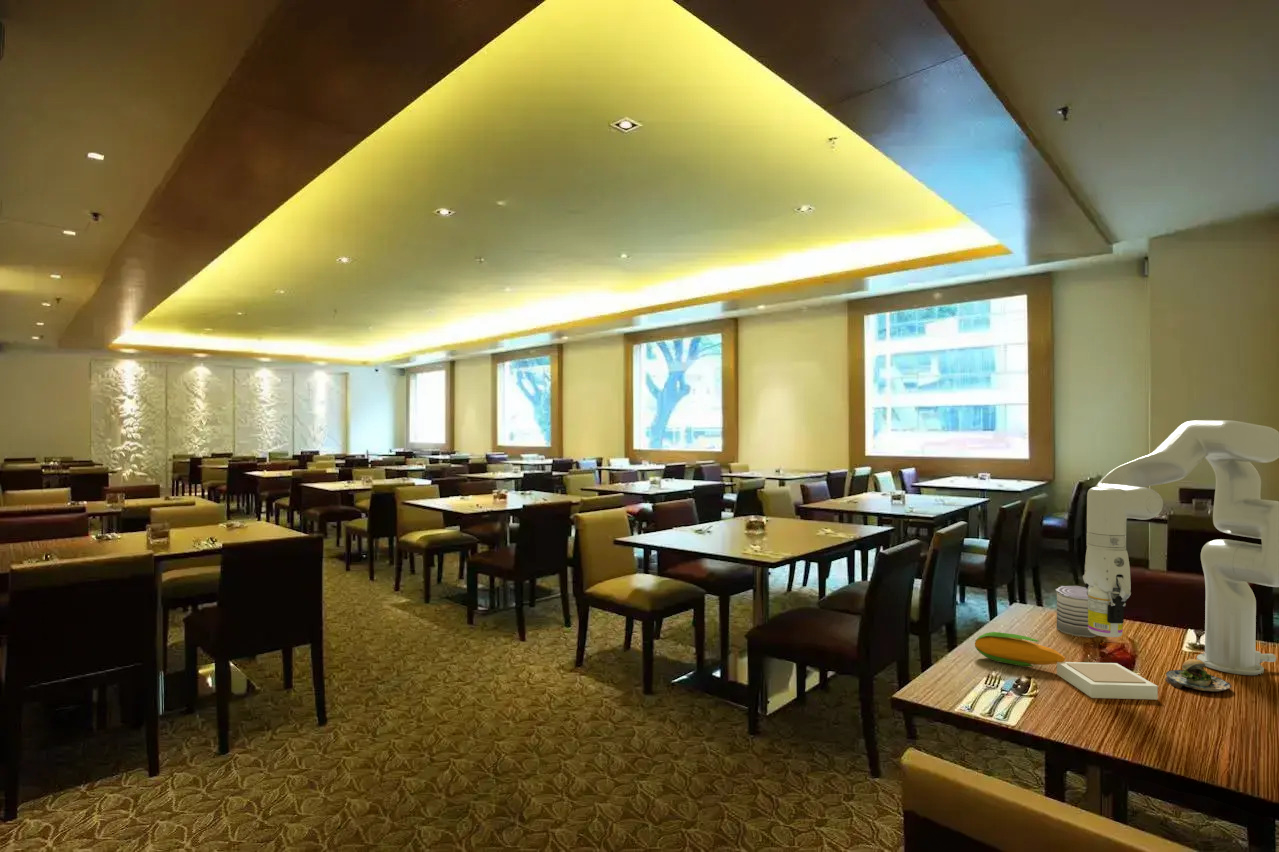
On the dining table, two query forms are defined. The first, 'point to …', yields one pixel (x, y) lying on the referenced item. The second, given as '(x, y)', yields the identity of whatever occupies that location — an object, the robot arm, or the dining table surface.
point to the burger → (1195, 677)
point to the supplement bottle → (1101, 613)
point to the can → (1073, 611)
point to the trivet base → (1106, 680)
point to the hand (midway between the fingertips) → (1105, 617)
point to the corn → (1016, 650)
